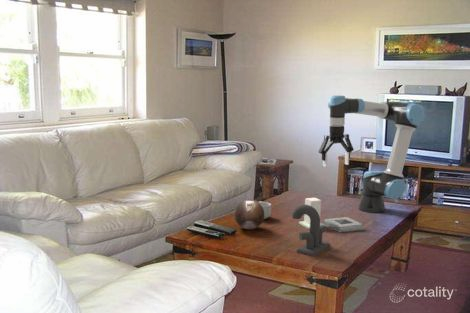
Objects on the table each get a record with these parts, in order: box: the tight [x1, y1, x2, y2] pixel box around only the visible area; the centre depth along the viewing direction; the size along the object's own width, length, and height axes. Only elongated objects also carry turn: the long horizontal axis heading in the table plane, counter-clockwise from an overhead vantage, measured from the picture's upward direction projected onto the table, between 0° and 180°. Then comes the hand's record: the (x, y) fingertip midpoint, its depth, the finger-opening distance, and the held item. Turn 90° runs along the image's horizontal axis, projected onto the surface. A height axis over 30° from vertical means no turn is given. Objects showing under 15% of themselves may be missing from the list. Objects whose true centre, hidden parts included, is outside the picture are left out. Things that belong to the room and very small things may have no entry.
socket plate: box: [323, 216, 364, 233], centre depth 272 cm, size 14×14×3 cm
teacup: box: [257, 200, 272, 220], centre depth 286 cm, size 14×11×8 cm
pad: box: [298, 220, 326, 230], centre depth 274 cm, size 10×10×1 cm
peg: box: [303, 197, 322, 225], centre depth 273 cm, size 6×6×13 cm
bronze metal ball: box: [234, 199, 265, 230], centre depth 264 cm, size 15×15×15 cm
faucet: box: [291, 204, 331, 257], centre depth 238 cm, size 18×16×20 cm
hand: (335, 165), depth 276 cm, fingers open, 13 cm apart
